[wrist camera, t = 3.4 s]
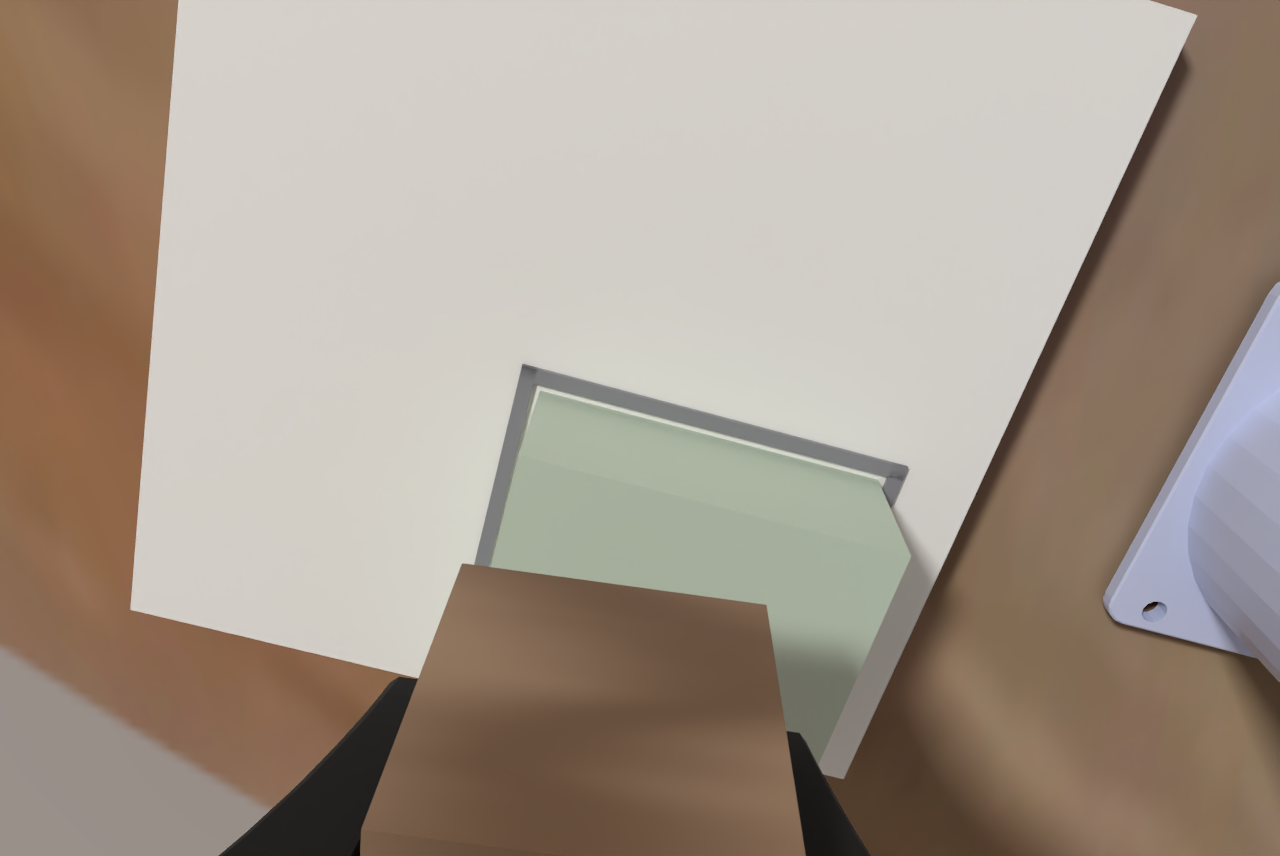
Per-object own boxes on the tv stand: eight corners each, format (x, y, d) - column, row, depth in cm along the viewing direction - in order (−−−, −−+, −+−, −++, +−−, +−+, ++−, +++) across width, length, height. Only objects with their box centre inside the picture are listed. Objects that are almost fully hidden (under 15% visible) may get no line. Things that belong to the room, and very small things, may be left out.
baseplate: (1169, 14, 17) (1200, 15, 16) (836, 749, 24) (844, 782, 23) (229, -279, 16) (199, -299, 15) (152, 585, 23) (128, 612, 22)
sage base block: (877, 479, 20) (910, 555, 17) (768, 743, 23) (781, 846, 20) (540, 390, 19) (518, 454, 17) (469, 671, 22) (440, 767, 19)
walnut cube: (766, 604, 13) (811, 886, 9) (715, 833, 14) (731, 1164, 10) (462, 563, 13) (361, 829, 9) (443, 798, 14) (350, 1119, 10)
